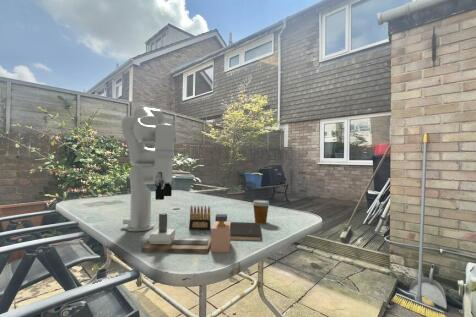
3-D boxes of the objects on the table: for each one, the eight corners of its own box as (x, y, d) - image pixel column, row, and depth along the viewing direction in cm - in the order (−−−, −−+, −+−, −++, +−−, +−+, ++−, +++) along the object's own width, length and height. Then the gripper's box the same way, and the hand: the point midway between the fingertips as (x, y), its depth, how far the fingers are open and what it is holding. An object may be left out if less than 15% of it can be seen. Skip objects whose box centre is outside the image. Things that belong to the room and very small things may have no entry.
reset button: (215, 230, 93) (215, 216, 93) (216, 227, 98) (216, 214, 98) (226, 230, 93) (226, 216, 93) (227, 227, 97) (227, 214, 98)
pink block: (210, 252, 90) (211, 228, 90) (213, 242, 100) (214, 221, 100) (229, 252, 90) (229, 228, 90) (230, 243, 100) (230, 221, 100)
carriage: (149, 244, 92) (150, 216, 92) (155, 238, 99) (156, 212, 99) (170, 245, 92) (170, 216, 92) (175, 239, 99) (175, 212, 99)
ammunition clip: (188, 229, 119) (189, 205, 119) (189, 228, 120) (190, 205, 120) (210, 230, 118) (210, 206, 118) (210, 229, 120) (211, 205, 120)
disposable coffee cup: (249, 220, 137) (249, 200, 138) (263, 219, 141) (263, 199, 142) (257, 225, 129) (257, 203, 129) (272, 223, 133) (272, 202, 133)
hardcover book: (259, 227, 127) (259, 222, 127) (261, 241, 104) (261, 236, 104) (229, 226, 128) (229, 221, 128) (224, 240, 105) (224, 235, 105)
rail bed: (141, 251, 89) (141, 243, 89) (153, 240, 101) (153, 233, 101) (207, 253, 89) (207, 245, 89) (211, 242, 101) (211, 234, 101)
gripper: (162, 155, 104) (161, 194, 104) (146, 154, 87) (146, 201, 87) (179, 155, 104) (178, 194, 104) (167, 154, 87) (166, 201, 87)
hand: (163, 197), depth 95 cm, fingers open, 9 cm apart
